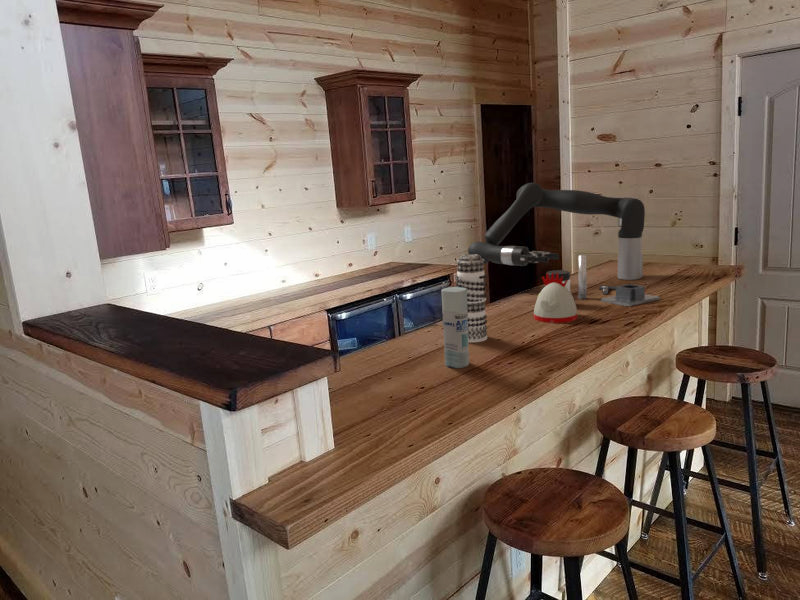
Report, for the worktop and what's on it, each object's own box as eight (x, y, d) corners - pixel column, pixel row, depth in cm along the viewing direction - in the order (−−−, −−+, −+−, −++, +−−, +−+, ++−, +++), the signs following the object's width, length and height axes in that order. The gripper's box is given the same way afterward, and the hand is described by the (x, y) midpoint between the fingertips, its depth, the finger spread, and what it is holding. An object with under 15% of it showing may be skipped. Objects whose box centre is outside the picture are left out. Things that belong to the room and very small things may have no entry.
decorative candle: (479, 332, 192) (476, 252, 187) (494, 339, 184) (492, 255, 178) (452, 337, 189) (449, 255, 184) (466, 344, 180) (463, 258, 175)
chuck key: (600, 289, 244) (600, 284, 244) (616, 289, 242) (616, 284, 241) (596, 294, 235) (596, 289, 235) (613, 294, 233) (613, 289, 233)
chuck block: (631, 294, 231) (631, 281, 230) (659, 299, 221) (659, 285, 220) (601, 301, 224) (601, 287, 223) (628, 306, 213) (628, 292, 212)
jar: (575, 305, 221) (575, 271, 218) (561, 309, 216) (561, 275, 213) (554, 301, 227) (554, 269, 225) (540, 305, 222) (540, 272, 220)
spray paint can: (453, 359, 168) (450, 286, 163) (474, 362, 164) (471, 287, 159) (439, 365, 163) (436, 290, 159) (460, 369, 159) (457, 292, 154)
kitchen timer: (541, 311, 214) (541, 268, 211) (582, 314, 207) (582, 269, 204) (527, 321, 203) (527, 275, 200) (570, 324, 196) (570, 277, 193)
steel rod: (582, 297, 232) (582, 254, 228) (587, 298, 229) (588, 255, 226) (576, 298, 230) (576, 255, 227) (582, 299, 228) (582, 256, 225)
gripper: (505, 248, 238) (544, 250, 228) (524, 244, 249) (562, 245, 239) (505, 267, 240) (544, 270, 229) (524, 262, 250) (561, 265, 240)
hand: (553, 258), depth 234 cm, fingers open, 8 cm apart
